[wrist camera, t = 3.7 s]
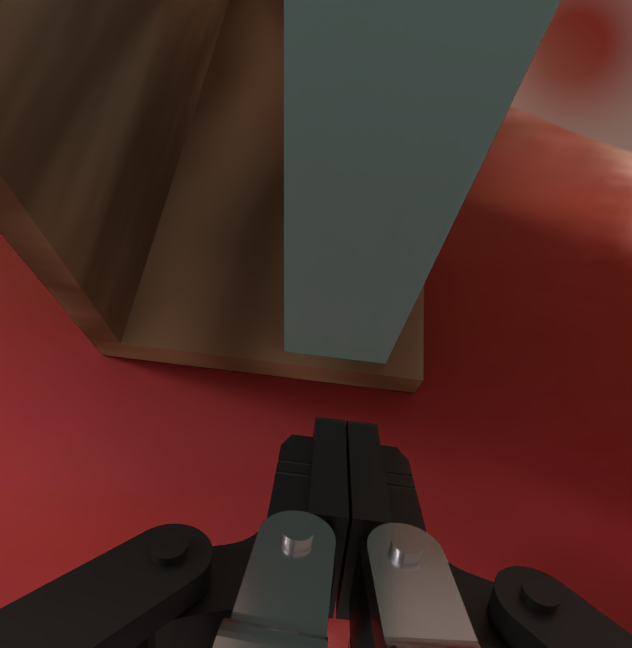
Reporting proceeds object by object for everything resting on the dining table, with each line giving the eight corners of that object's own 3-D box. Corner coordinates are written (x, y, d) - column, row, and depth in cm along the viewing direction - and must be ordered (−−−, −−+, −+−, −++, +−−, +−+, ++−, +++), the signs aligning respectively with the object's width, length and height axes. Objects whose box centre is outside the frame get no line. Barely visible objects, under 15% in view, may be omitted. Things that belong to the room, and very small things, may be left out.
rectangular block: (282, 351, 19) (280, -58, 7) (313, 148, 24) (344, -301, 12) (386, 363, 19) (575, -23, 7) (395, 158, 24) (513, -280, 12)
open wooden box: (102, 355, 20) (-215, -26, 7) (223, -8, 32) (182, -398, 19) (414, 392, 20) (639, 79, 7) (420, 16, 32) (511, -356, 19)
